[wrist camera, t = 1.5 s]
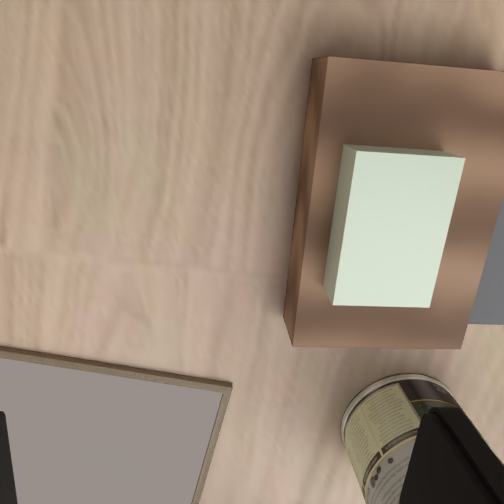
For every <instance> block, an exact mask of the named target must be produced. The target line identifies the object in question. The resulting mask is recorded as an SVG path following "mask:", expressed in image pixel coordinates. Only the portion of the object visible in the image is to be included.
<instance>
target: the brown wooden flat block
mask: <svg viewBox="0 0 504 504" xmlns="http://www.w3.org/2000/svg"><path fill="white" fill-rule="evenodd" d="M343 144H349V145H364V146H379V147H394V148H410V149H425V150H440V151H446V152H449V153H452V154H455V155H458V156H461V157H464V158H465V162H464V167H463V171H462V175H461V179H460V183H459V187H458V191H457V196H456V200H455V204H454V208H453V212H452V216H451V220H450V225H449V229H448V233H447V237H446V241H445V245H444V250H443V254H442V258H441V262H440V266H439V270H438V274H437V279H436V283H435V287H434V291H433V295H432V299H431V303H430V308H422V307H384V306H346V305H332V303H331V301H330V299H329V297H328V295H327V294H326V292H325V290H324V288H323V283H324V276H325V269H326V262H327V255H328V248H329V241H330V234H331V227H332V220H333V213H334V206H335V199H336V192H337V186H338V179H339V172H340V165H341V158H342V151H343ZM503 196H504V72H503V71H492V70H480V69H469V68H457V67H446V66H434V65H423V64H411V63H400V62H388V61H377V60H365V59H354V58H342V57H331V56H327V57H321V58H314V59H312V68H311V77H310V86H309V95H308V104H307V113H306V121H305V130H304V139H303V148H302V157H301V166H300V175H299V183H298V192H297V201H296V210H295V219H294V228H293V237H292V245H291V254H290V263H289V272H288V281H287V290H286V299H285V307H284V316H283V317H284V321H285V324H286V327H287V331H288V334H289V337H290V340H291V344H292V347H351V348H415V349H461V346H462V343H463V339H464V336H465V332H466V328H467V325H468V321H469V318H470V314H471V311H472V307H473V303H474V300H475V296H476V293H477V289H478V285H479V282H480V278H481V275H482V271H483V268H484V264H485V260H486V257H487V253H488V250H489V246H490V243H491V239H492V235H493V232H494V228H495V225H496V221H497V217H498V214H499V210H500V207H501V203H502V200H503Z"/></svg>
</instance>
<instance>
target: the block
mask: <svg viewBox="0 0 504 504" xmlns="http://www.w3.org/2000/svg"><path fill="white" fill-rule="evenodd" d="M464 162H465V158H464V157H461V156H458V155H455V154H452V153H449V152H446V151H440V150H425V149H410V148H394V147H379V146H364V145H349V144H343V151H342V158H341V165H340V172H339V179H338V186H337V192H336V199H335V206H334V213H333V220H332V227H331V234H330V241H329V248H328V255H327V262H326V269H325V276H324V283H323V288H324V290H325V292H326V294H327V295H328V297H329V299H330V301H331V303H332V305H346V306H384V307H422V308H430V303H431V299H432V295H433V291H434V287H435V283H436V279H437V274H438V270H439V266H440V262H441V258H442V254H443V250H444V245H445V241H446V237H447V233H448V229H449V225H450V220H451V216H452V212H453V208H454V204H455V200H456V196H457V191H458V187H459V183H460V179H461V175H462V171H463V167H464Z"/></svg>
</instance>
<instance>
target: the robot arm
mask: <svg viewBox="0 0 504 504" xmlns="http://www.w3.org/2000/svg"><path fill="white" fill-rule="evenodd" d="M0 504H18V502H17V495H16V488H15V480H14V473H13V466H12V459H11V452H10V444H9V437H8V430H7V423H6V416H5V413H4V412H3V411H0ZM399 504H504V466H503V465H502V463H501V462H500V461H499V459H498V458H497V457H496V455H495V454H494V453H493V451H492V450H491V449H490V447H489V446H488V445H487V443H486V442H485V441H484V439H483V438H482V437H481V435H480V434H479V433H478V431H477V430H476V429H475V427H474V426H473V425H472V423H471V422H470V421H469V419H468V418H467V417H466V415H465V414H464V413H463V411H462V410H461V409H460V408H458V407H431V408H430V409H429V412H428V413H425V414H423V416H422V418H421V421H420V425H419V429H418V432H417V436H416V439H415V443H414V447H413V450H412V454H411V458H410V461H409V465H408V469H407V472H406V476H405V480H404V483H403V487H402V490H401V494H400V498H399Z"/></svg>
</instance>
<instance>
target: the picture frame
mask: <svg viewBox="0 0 504 504" xmlns="http://www.w3.org/2000/svg"><path fill="white" fill-rule="evenodd" d="M231 391H232V383H228V382H222V381H216V380H209V379H203V378H197V377H191V376H184V375H178V374H172V373H166V372H159V371H153V370H147V369H141V368H134V367H128V366H122V365H116V364H109V363H103V362H97V361H91V360H84V359H78V358H72V357H66V356H59V355H53V354H47V353H41V352H34V351H28V350H22V349H16V348H9V347H3V346H0V411H3V412H4V413H5V416H6V423H7V430H8V437H9V444H10V452H11V459H12V466H13V473H14V480H15V488H16V495H17V502H18V504H199V501H200V497H201V494H202V490H203V487H204V483H205V480H206V477H207V473H208V470H209V466H210V463H211V460H212V456H213V453H214V449H215V446H216V442H217V439H218V436H219V432H220V429H221V425H222V422H223V419H224V415H225V412H226V408H227V405H228V402H229V398H230V395H231Z"/></svg>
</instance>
